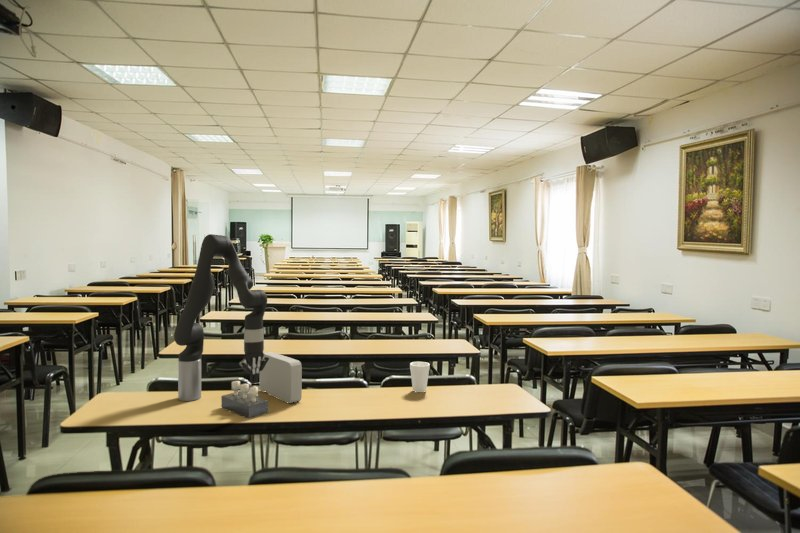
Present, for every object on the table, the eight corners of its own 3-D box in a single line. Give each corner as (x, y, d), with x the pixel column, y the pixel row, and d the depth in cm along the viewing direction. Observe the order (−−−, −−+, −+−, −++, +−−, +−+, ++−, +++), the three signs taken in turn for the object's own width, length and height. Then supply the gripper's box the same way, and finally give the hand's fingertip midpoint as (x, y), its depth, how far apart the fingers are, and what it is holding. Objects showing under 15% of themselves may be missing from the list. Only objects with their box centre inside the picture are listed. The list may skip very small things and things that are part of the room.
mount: (221, 407, 193) (221, 395, 193) (240, 402, 200) (240, 390, 200) (248, 418, 181) (248, 406, 181) (268, 412, 188) (268, 400, 188)
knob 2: (238, 403, 190) (238, 384, 190) (245, 401, 193) (246, 382, 193) (243, 404, 188) (243, 386, 188) (250, 402, 191) (250, 384, 190)
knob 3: (247, 406, 186) (247, 387, 186) (254, 404, 189) (254, 385, 188) (252, 408, 184) (252, 389, 184) (259, 406, 187) (259, 387, 186)
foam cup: (410, 387, 226) (411, 361, 225) (429, 388, 225) (430, 361, 224) (409, 393, 216) (409, 365, 216) (428, 394, 215) (429, 366, 215)
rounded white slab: (306, 401, 203) (306, 360, 203) (290, 405, 198) (291, 363, 197) (274, 387, 224) (274, 350, 223) (259, 390, 218) (259, 352, 218)
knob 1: (230, 399, 194) (230, 381, 194) (237, 397, 197) (237, 380, 197) (234, 401, 192) (234, 383, 192) (241, 399, 195) (241, 381, 195)
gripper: (262, 336, 193) (262, 377, 194) (233, 341, 183) (234, 384, 183) (273, 338, 188) (273, 380, 189) (244, 343, 178) (244, 388, 179)
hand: (254, 382), depth 186 cm, fingers closed
